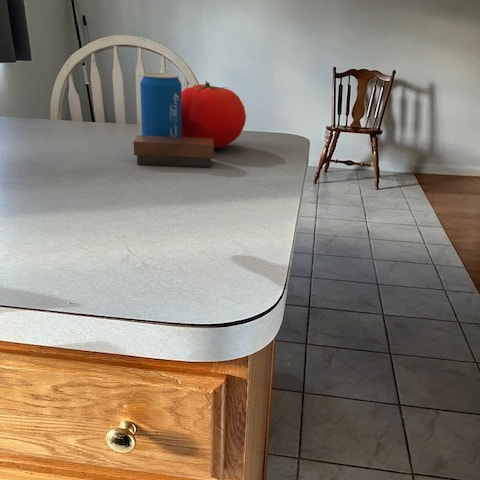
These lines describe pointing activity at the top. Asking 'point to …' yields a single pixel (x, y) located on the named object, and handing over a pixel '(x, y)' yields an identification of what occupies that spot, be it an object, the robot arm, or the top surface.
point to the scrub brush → (173, 151)
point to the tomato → (211, 114)
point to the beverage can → (161, 105)
